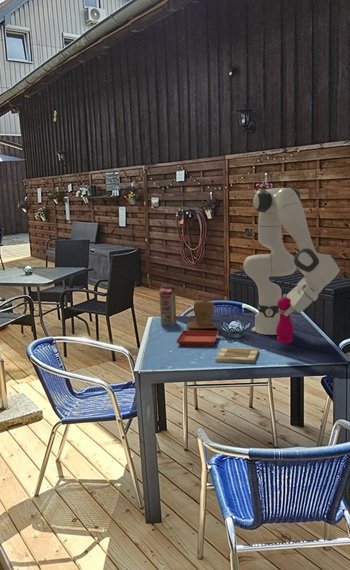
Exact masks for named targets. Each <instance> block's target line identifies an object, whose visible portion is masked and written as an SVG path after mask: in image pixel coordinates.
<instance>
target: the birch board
mask: <svg viewBox="0 0 350 570" xmlns="http://www.w3.org/2000/svg"><path fill="white" fill-rule="evenodd" d="M258 354H259V348H256V347H255V348H254V347H232V346H229V347H228V346H222V347H221V349H220V350H219V352H218V353H217V355H216V356H215V363H216V362H217V363H218V362H219V363H234V364H236V363H237V364H240V363H241V364H253V363H254V364H255V362H256V359H257V357H258Z"/></svg>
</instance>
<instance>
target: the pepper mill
mask: <svg viewBox="0 0 350 570" xmlns="http://www.w3.org/2000/svg"><path fill="white" fill-rule="evenodd" d="M290 301H291V299H289V298H287V294H286V293H284V294H283V295H282V298H281V299H279V300H278V303H277V305H278V307H279V313H280V319H279V322H278V325H277V327H276V333H277V336H276V341H277V342H278V343H281V344H290V343H292V342H293V336H292V335H293V334H294V331H295V329H294V326H293V323H292V321H291V313H290V314H289V315H288V316H285V315H284V314H283V312H284V311H285V310H287V309H288V308H289V307H290V306H291V305H290Z"/></svg>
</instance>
